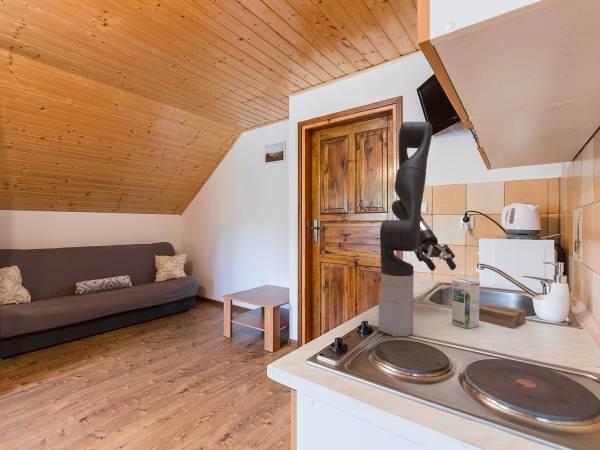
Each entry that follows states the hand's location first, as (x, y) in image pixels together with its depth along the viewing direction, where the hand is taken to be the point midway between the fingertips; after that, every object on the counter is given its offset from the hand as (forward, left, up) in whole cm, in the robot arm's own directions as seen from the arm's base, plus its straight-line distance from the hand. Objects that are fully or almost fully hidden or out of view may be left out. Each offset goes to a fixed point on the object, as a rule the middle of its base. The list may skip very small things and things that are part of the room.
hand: (444, 269), depth 102 cm
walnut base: (+11, -14, -16) cm, 24 cm away
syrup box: (-3, -9, -17) cm, 19 cm away
